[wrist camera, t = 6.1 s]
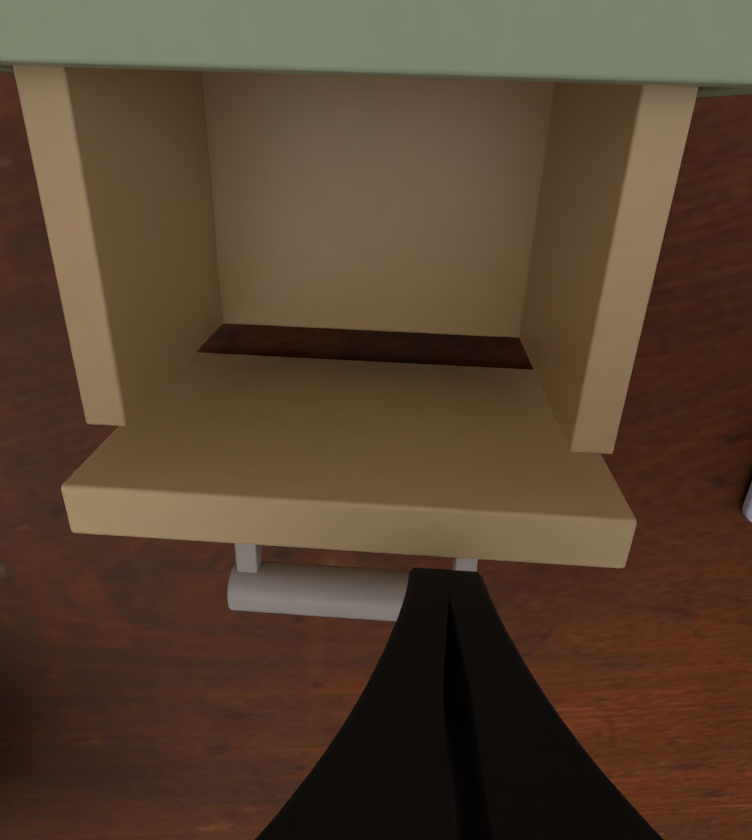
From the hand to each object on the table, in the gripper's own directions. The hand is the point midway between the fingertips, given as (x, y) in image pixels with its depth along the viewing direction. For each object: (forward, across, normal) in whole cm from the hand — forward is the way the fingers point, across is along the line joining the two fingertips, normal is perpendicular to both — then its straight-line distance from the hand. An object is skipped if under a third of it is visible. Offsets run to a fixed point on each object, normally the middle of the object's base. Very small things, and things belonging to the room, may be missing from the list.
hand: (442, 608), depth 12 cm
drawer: (+8, +2, -5) cm, 10 cm away
